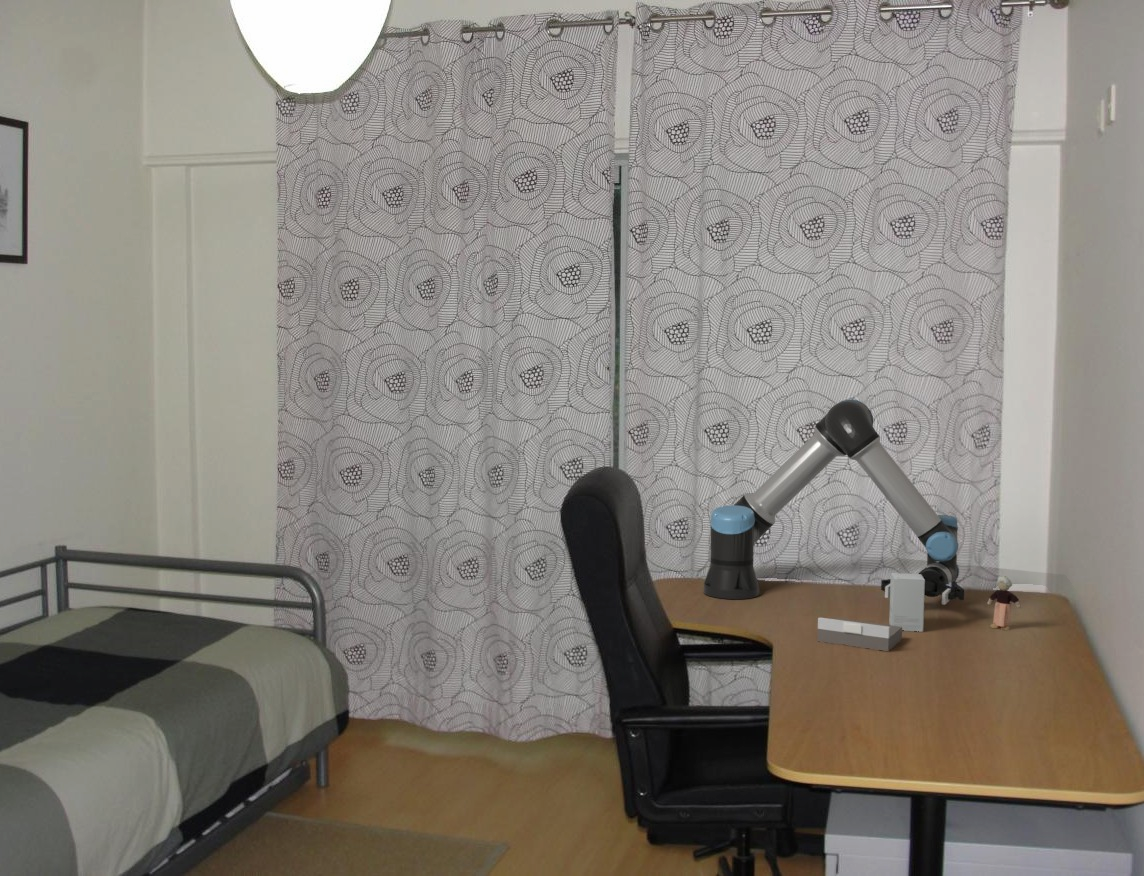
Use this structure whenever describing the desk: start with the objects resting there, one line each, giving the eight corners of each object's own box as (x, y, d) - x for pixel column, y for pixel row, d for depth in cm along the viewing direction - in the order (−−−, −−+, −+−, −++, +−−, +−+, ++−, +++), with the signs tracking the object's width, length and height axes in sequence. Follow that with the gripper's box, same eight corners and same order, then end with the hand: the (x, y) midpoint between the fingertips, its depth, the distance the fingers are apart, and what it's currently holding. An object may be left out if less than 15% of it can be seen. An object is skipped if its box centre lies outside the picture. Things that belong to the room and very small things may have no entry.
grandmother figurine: (984, 628, 261) (986, 576, 260) (986, 624, 265) (988, 573, 264) (1019, 632, 258) (1021, 579, 257) (1020, 628, 261) (1022, 576, 260)
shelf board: (816, 641, 247) (817, 618, 247) (833, 630, 258) (834, 607, 258) (887, 652, 239) (888, 628, 239) (901, 639, 250) (902, 616, 250)
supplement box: (923, 632, 257) (925, 579, 256) (891, 630, 258) (892, 578, 257) (920, 624, 264) (922, 573, 263) (888, 623, 266) (890, 572, 265)
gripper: (983, 600, 277) (967, 617, 259) (885, 588, 290) (863, 604, 272) (984, 571, 277) (968, 586, 258) (885, 561, 289) (864, 574, 271)
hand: (914, 595), depth 265 cm, fingers open, 13 cm apart
